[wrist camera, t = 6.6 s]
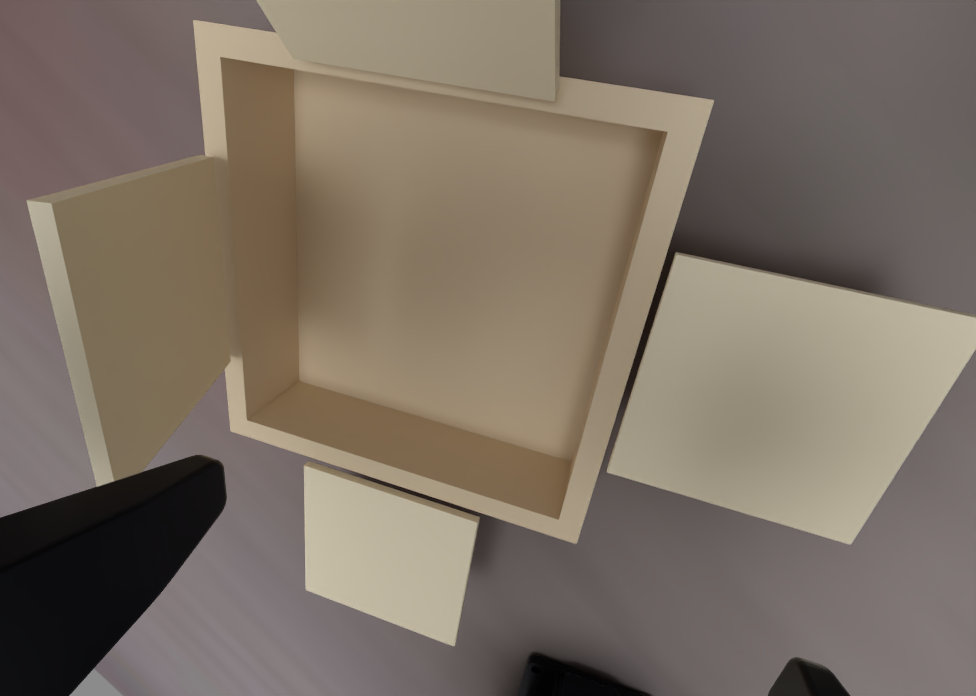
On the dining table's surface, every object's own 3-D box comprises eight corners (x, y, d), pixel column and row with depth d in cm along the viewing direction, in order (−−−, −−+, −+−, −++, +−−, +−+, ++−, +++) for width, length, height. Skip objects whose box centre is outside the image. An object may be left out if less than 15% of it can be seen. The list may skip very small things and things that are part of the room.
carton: (708, 645, 23) (720, 748, 19) (295, 502, 27) (237, 563, 23) (973, 148, 14) (1097, 158, 10) (283, 40, 18) (184, 17, 14)
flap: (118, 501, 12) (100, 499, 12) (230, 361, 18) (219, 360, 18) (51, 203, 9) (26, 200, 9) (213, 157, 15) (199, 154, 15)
